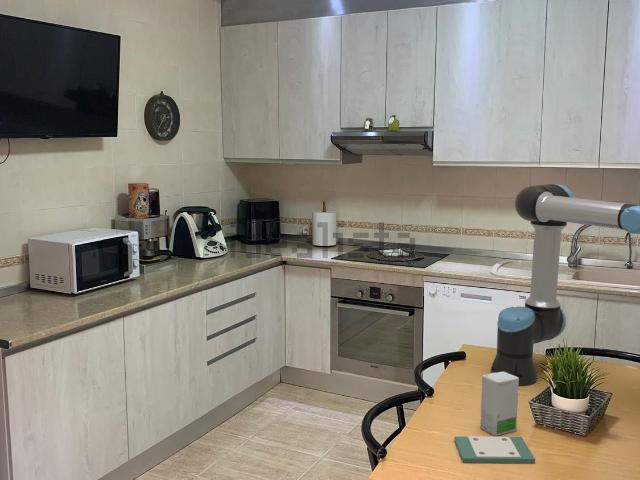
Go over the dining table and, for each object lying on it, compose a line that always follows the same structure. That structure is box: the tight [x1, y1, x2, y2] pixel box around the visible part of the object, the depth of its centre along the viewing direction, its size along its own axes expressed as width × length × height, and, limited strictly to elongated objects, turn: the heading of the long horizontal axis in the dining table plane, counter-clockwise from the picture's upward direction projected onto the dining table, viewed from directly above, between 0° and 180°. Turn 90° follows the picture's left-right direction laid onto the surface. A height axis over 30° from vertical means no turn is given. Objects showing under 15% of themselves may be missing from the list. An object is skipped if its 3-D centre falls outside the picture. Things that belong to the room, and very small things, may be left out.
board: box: [453, 435, 536, 464], centre depth 169 cm, size 18×12×2 cm, turn 89°
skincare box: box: [479, 372, 520, 437], centre depth 181 cm, size 8×7×16 cm
